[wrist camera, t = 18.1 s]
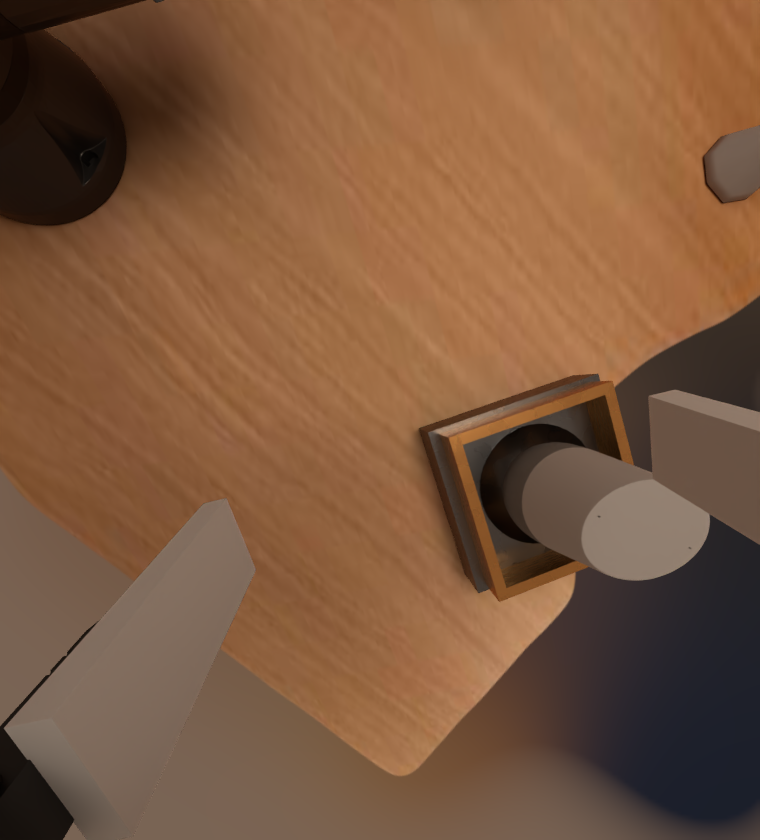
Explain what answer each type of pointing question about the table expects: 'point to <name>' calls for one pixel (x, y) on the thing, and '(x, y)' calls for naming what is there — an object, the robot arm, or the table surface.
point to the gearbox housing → (487, 465)
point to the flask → (734, 165)
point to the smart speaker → (602, 511)
